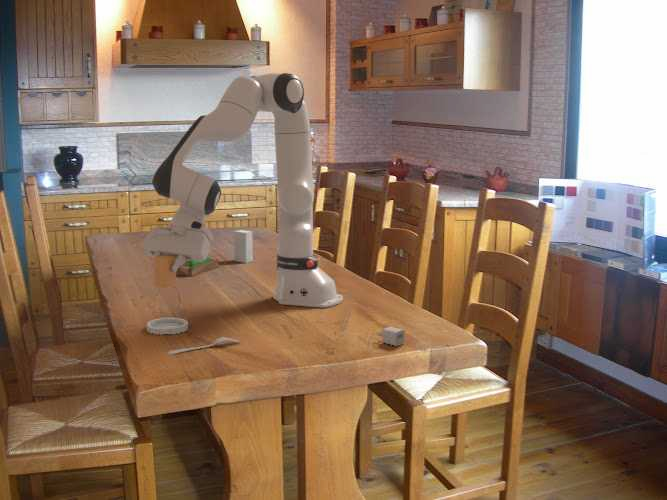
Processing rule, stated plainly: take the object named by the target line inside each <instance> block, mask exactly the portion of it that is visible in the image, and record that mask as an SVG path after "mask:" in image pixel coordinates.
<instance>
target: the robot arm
mask: <svg viewBox="0 0 667 500" xmlns="http://www.w3.org/2000/svg"><path fill="white" fill-rule="evenodd" d="M304 96H305V90H304V86H303V83H302V81H301V79H300V78H299V77H298V76H297V75H295V74H293V73H287V72H283V73H277V72H276V73H275V72H274V73H271V72H270V73H269V72H268V73H266V74H261V75H252V76H246V75H241V76H237V77H236V78H234V79H233V80H232V81H231V83H230V84H229V85H228V87H227V89H226V91H225V92H224V93H223V95H222V97H221V99H220V101H219V103H218V105H217V106H216V108H214V110H213V111H211V112H210V113H208V114H207V115H205V114H204V115H200V116H199V117H198V118H196V120H194V122H193V123H192V124H191V126H189V128H188V130H187V131H186V132H185V133H184V135H183V136H182V137H181V139H180V140H179V141H178V142H177V144H176V146H174V147H173V149H172V150H171V152H170V154H169V155H168V156H167V157H166V158H165V159H164V160H163V162H161V164H160V165H159V166H158V167H157V169H156V170H155V171H154V173H153V177H152V181H151V183H152V186H153V188H154V190H155V192H156V193H157V195H158V196H161V197H164V198H167V199H171V200H173V201H176V202H178V203H180V204H179V207H178V208H177V210H176V211H175V212H174V214H173V215H172V218H171V220H170V222H169V223H168V226H161V225H158V226H157V227H154V228H152V229H151V231H150V232H149V233H148V234H147V235H146V237H145V238H144V240H143V241H142V243H141V244H140V248H141V251H142V252H143V254H145V255H146V256H151V257H154V259H155V257H158V256H162V255H168V256H176V262H175V263H171V265H170V267H169V270H170V271H172V272H176V271H177V269H178V267H180V266H181V265H183V264H184V263H185V261H186V260H188V261H196V262H203V261H204V260H205V259H206V258H207V257H209V256H208V255H209V254H210V251H211V248H212V242H213V241H214V239H215V236H214V235H213V234H212V231H211V230H210V229H209V228H208V225H206V224H205V221H206V219H207V218H209V216H210V214H213V213H214V211H215V209H216V207H217V206H218V203H219V201H220V199H221V196H222V189H221V186H220V184H219V182H218V181H217V180H215V179H214V178H213V177H210V176H208V175H205V174H203V173H200V172H198V171H195V170H193V169H192V168H188V167H187V166H184V164H183V163H185V161H186V160H187V159H188V157H189V156H190V154H191V153H192V152H193V150H194V149H195V147H196V146H197V145H199V144H201V143H204V142H221V143H222V142H224V143H227V142H228V143H230V142H236V141H238V140H241V139H243V138H244V137H245V136H246V135H247V134H248V133H249V131H250V129H251V128H252V126H253V124H254V122H255V119H256V118H257V117H256V116H257V114H258V112H268V113H270V112H272V114H273V117H274V121H273V122H274V126H273V127H274V145H275V146H274V147H275V161H276V162H275V163H276V180H277V181H276V183H277V197H278V199H277V201H278V208H277V209H278V213H277V214H278V217H277V219H278V220H277V221H278V223H277V224H278V226H277V230H278V232H277V235H278V236H277V237H278V243H277V244H278V245H277V246H278V249H277V251H278V252H277V254H276V270H277V277H276V278H277V279H276V283H275V290H274V294H273V296H272V297H273V299H274V300H275V301H277V303H278V304H279V305H285V306H286V305H287V306H297V307H299V306H300V307H301V306H302V307H310V308H311V307H312V308H330V307H333V306H337V305H338V304H340V303H341V302H343V300H344V296H343V295H342V294H339V293H337V288H336V287H337V286H336V282H335V280H334V279H332V278H331V277H330V276H329V275H328V274H327V273H326V272H325V271H323V270H322V269H321V268H320V267H319V265H318V264H319V262H320V261H321V260H320V259H321V257H318V258H317V257H316V256H315V254H314V216H313V215H314V213H313V212H314V210H313V209H314V207H313V205H314V204H313V203H314V200H315V190H314V189H315V187H314V174H313V173H314V172H313V161H312V160H313V159H312V140H311V124H310V117H309V113H308V112H309V111H308V107H307V103H306V102H305V99H304ZM152 268H153V269H154V270H155V261H154V263H153V264H152Z"/></svg>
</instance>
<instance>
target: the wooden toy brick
mask: <svg viewBox="0 0 667 500" xmlns="http://www.w3.org/2000/svg"><path fill="white" fill-rule="evenodd" d="M176 261H177V259H176V256H168V255H162V256H158V257H155V258H154V262H155V269H154V284H155V285H154V287H159V288H166V289H168V288H171V287H174V286H177V275H176V272H172V271H170V270H169V267H170V265H171V263H175V262H176Z"/></svg>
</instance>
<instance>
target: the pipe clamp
mask: <svg viewBox="0 0 667 500" xmlns="http://www.w3.org/2000/svg"><path fill="white" fill-rule="evenodd" d="M210 258H211V257H209V256H207V258H206V259H205V260H204V261H203V262H196V261H189V267H193V266H196V265H199V264H202V263H205V262H208V261H210Z"/></svg>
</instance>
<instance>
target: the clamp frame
mask: <svg viewBox="0 0 667 500" xmlns="http://www.w3.org/2000/svg"><path fill="white" fill-rule="evenodd" d="M217 268H219V259H218V258H215V257H214V258H213V257H210V261H208V262H205V263H202V264H199V265H196V266H193V267H189V261H188V260H186V261H185V263H184V264H183V265H181V266H180V267H178V269H177V271H176V276H184V277H194V276H197V275H200V274H202V273H206V272H209V271H212V270H215V269H217Z"/></svg>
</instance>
